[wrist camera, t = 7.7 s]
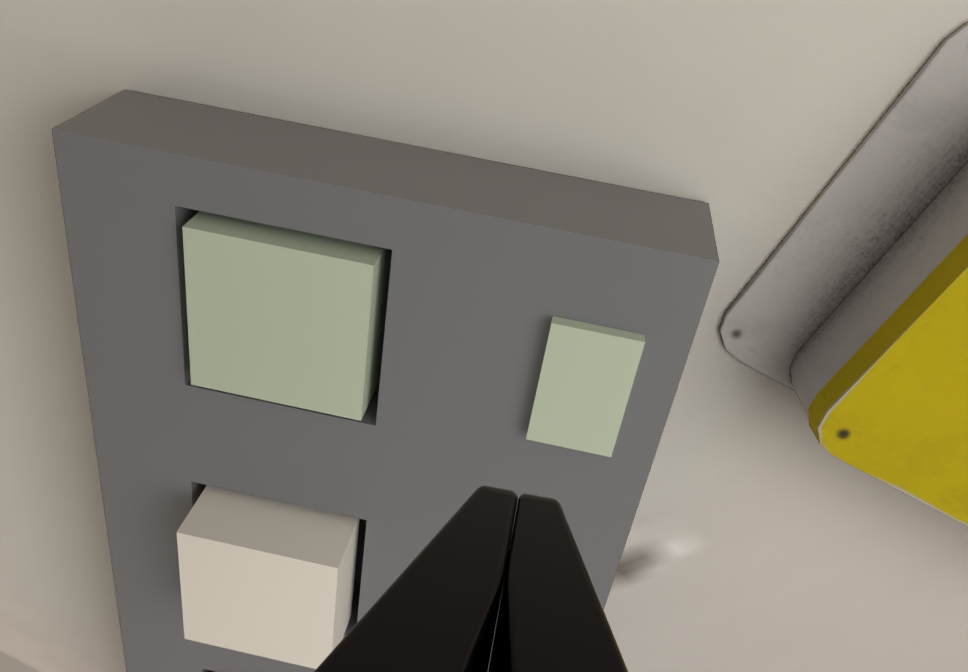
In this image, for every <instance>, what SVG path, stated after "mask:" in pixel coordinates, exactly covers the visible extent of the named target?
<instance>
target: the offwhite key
mask: <svg viewBox="0 0 968 672" xmlns="http://www.w3.org/2000/svg"><path fill="white" fill-rule="evenodd" d="M359 521H360V519H359V518H354V517H350V516H345V515H341V514H336V513H332V512H327V511H323V510H318V509H313V508H309V507H304V506H300V505H295V504H291V503H286V502H282V501H277V500H273V499H268V498H264V497H259V496H254V495H250V494H245V493H241V492H236V491H232V490H227V489H223V488H218V487H214V486H209V485H207V486H206V487H205V489H204V490H203V492H202V493H201V495H200V497H199V498H198V500H197V501H196V503H195V504H194V506H193V507H192V509H191V511H190V512H189V514H188V515H187V517H186V518H185V520H184V521H183V523H182V525H181V526H180V528H179V529H178V531H177V532H176V533H177V546H178V559H179V572H180V585H181V598H182V612H183V625H184V638H185V639H188V640H192V641H196V642H201V643H205V644H209V645H214V646H218V647H222V648H227V649H231V650H235V651H240V652H244V653H248V654H253V655H257V656H261V657H266V658H270V659H274V660H279V661H283V662H287V663H292V664H296V665H300V666H305V667H309V668H313V669H317V668H318V666H319V665H320V664H321V663H322V662H323V661H324V660H325V659H326V657H327V656H328V655H329V654H330V653H331V652H332V651H333V650H334V648H335V647H336V646H337V645H338V644H339V643H340V642H341V641H342V639H343V636H344V633H345V631H346V628H347V625H348V622H349V620H350V617H351V611H352V600H353V589H354V577H355V566H356V555H357V543H358V532H359Z"/></svg>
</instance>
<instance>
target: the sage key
mask: <svg viewBox="0 0 968 672" xmlns="http://www.w3.org/2000/svg"><path fill="white" fill-rule="evenodd" d="M182 230H183V248H184V266H185V284H186V302H187V320H188V338H189V356H190V374H191V385H196V386H200V387H205V388H210V389H214V390H219V391H224V392H228V393H233V394H238V395H242V396H247V397H252V398H256V399H261V400H266V401H270V402H275V403H280V404H284V405H289V406H294V407H299V408H303V409H308V410H313V411H317V412H322V413H327V414H331V415H336V416H341V417H345V418H350V419H355V420H359V421H361V420H362V418H363V415H364V413H365V411H366V409H367V407H368V405H369V402H370V400H371V398H372V396H373V394H374V391H375V389H376V387H377V385H378V383H379V381H380V374H381V364H382V353H383V343H384V332H385V321H386V311H387V300H388V290H389V279H390V269H391V258H392V250H391V249H386V248H381V247H376V246H371V245H366V244H361V243H356V242H351V241H346V240H341V239H336V238H331V237H327V236H322V235H317V234H312V233H307V232H302V231H297V230H292V229H287V228H282V227H277V226H272V225H267V224H262V223H257V222H252V221H247V220H243V219H238V218H233V217H228V216H223V215H218V214H213V213H208V212H203V211H199V212H198V213H197V214H196V215H195V216H194V217H193V218H191V219H190V220H189V221H188V222H187V223H186V224H185V225H184V226H183V227H182Z"/></svg>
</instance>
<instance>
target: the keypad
mask: <svg viewBox="0 0 968 672" xmlns="http://www.w3.org/2000/svg"><path fill="white" fill-rule="evenodd" d="M52 135H53V142H54V149H55V156H56V164H57V171H58V178H59V185H60V193H61V200H62V207H63V214H64V222H65V229H66V236H67V243H68V251H69V258H70V265H71V272H72V280H73V287H74V294H75V301H76V308H77V316H78V323H79V330H80V337H81V345H82V352H83V359H84V366H85V374H86V381H87V388H88V395H89V403H90V410H91V417H92V424H93V432H94V439H95V446H96V453H97V460H98V468H99V475H100V482H101V489H102V497H103V504H104V511H105V518H106V526H107V533H108V540H109V547H110V555H111V562H112V569H113V576H114V584H115V591H116V598H117V605H118V613H119V620H120V627H121V634H122V641H123V649H124V656H125V663H126V670H127V672H214V671H215V672H314V671H315V670H316V669H313V668H309V667H305V666H300V665H296V664H292V663H287V662H283V661H279V660H274V659H270V658H266V657H261V656H257V655H253V654H248V653H244V652H240V651H235V650H231V649H227V648H222V647H218V646H214V645H209V644H205V643H201V642H196V641H192V640H188V639H185V638H184V625H183V612H182V598H181V585H180V572H179V559H178V546H177V533H176V532H177V531H178V529H179V528H180V526H181V525H182V523H183V521H184V520H185V518H186V517H187V515H188V514H189V512H190V511H191V509H192V507H193V506H194V504H195V503H196V501H197V500H198V498H199V497H200V495H201V493H202V492H203V490H204V489H205V487H206V486H207V485H209V486H214V487H218V488H223V489H227V490H232V491H236V492H241V493H245V494H250V495H254V496H259V497H264V498H268V499H273V500H277V501H282V502H286V503H291V504H295V505H300V506H304V507H309V508H313V509H318V510H323V511H327V512H332V513H336V514H341V515H345V516H350V517H354V518H359V519H360V521H359V532H358V543H357V555H356V566H355V577H354V589H353V600H352V611H351V617H350V620H349V622H348V625H347V628H346V631H345V633H344V636H343V638H344V637H345V636H346V635H347V634H348V633H349V632H350V631H351V629H352V628H353V627H354V626H355V625H356V624H357V623H358V622H359V620H360V619H361V618H362V617H363V616H364V615H365V614H366V613H367V611H368V610H369V609H370V608H371V607H372V606H373V605H374V604H375V603H376V601H377V600H378V599H379V598H380V597H381V596H382V595H383V594H384V592H385V591H386V590H387V589H388V588H389V587H390V586H391V585H392V583H393V582H394V581H395V580H396V579H397V578H398V577H399V576H400V575H401V573H402V572H403V571H404V570H405V569H406V568H407V567H408V566H409V564H410V563H411V562H412V561H413V560H414V559H415V558H416V557H417V555H418V554H419V553H420V552H421V551H422V550H423V549H424V548H425V546H426V545H427V544H428V543H429V542H430V541H431V540H432V539H433V538H434V536H435V535H436V534H437V533H438V532H439V531H440V530H441V529H442V527H443V526H444V525H445V524H446V523H447V522H448V521H449V520H450V518H451V517H452V516H453V515H454V514H455V513H456V512H457V511H458V510H459V508H460V507H461V506H462V505H463V504H464V503H465V502H466V501H467V499H468V498H469V497H470V496H471V495H472V494H473V493H474V492H475V491H476V490H477V489H478V488H479V487H481V486H490V487H495V488H501V489H506V490H511V491H514V492H515V493H516V494H517V496H518V499H519V497H520V496H521V495H522V494H524V493H527V494H533V495H538V496H543V497H548V498H553V499H556V500H557V501H558V502H559V503H560V505H561V507H562V509H563V512H564V514H565V517H566V519H567V522H568V524H569V527H570V529H571V532H572V534H573V536H574V539H575V541H576V544H577V546H578V549H579V551H580V554H581V556H582V559H583V561H584V564H585V566H586V569H587V571H588V574H589V576H590V579H591V581H592V584H593V586H594V588H595V591H596V593H597V596H598V598H599V601H600V603H601V606H602V608H603V610H604V607H605V604H606V601H607V598H608V595H609V592H610V589H611V586H612V583H613V580H614V577H615V574H616V571H617V568H618V565H619V562H620V559H621V556H622V553H623V550H624V547H625V544H626V541H627V538H628V535H629V532H630V529H631V526H632V523H633V520H634V517H635V514H636V511H637V508H638V505H639V502H640V499H641V496H642V493H643V490H644V487H645V484H646V481H647V478H648V475H649V472H650V469H651V465H652V462H653V459H654V456H655V453H656V450H657V447H658V444H659V441H660V438H661V435H662V432H663V429H664V426H665V423H666V420H667V417H668V414H669V411H670V408H671V405H672V402H673V399H674V396H675V393H676V390H677V387H678V384H679V381H680V378H681V375H682V372H683V369H684V366H685V363H686V360H687V357H688V354H689V351H690V348H691V345H692V342H693V339H694V336H695V333H696V330H697V327H698V324H699V321H700V318H701V315H702V312H703V309H704V306H705V303H706V300H707V297H708V294H709V291H710V288H711V285H712V282H713V279H714V276H715V273H716V270H717V267H718V264H719V258H718V252H717V247H716V241H715V236H714V230H713V224H712V219H711V213H710V208H709V203H704V202H699V201H694V200H689V199H684V198H678V197H673V196H668V195H663V194H658V193H653V192H648V191H643V190H637V189H632V188H627V187H622V186H617V185H612V184H607V183H602V182H596V181H591V180H586V179H581V178H576V177H571V176H566V175H561V174H555V173H550V172H545V171H540V170H535V169H530V168H525V167H520V166H514V165H509V164H504V163H499V162H494V161H489V160H484V159H479V158H473V157H468V156H463V155H458V154H453V153H448V152H443V151H438V150H432V149H427V148H422V147H417V146H412V145H407V144H402V143H397V142H391V141H386V140H381V139H376V138H371V137H366V136H361V135H356V134H350V133H345V132H340V131H335V130H330V129H325V128H320V127H315V126H309V125H304V124H299V123H294V122H289V121H284V120H279V119H274V118H268V117H263V116H258V115H253V114H248V113H243V112H238V111H233V110H227V109H222V108H217V107H212V106H207V105H202V104H197V103H192V102H186V101H181V100H176V99H171V98H166V97H161V96H156V95H151V94H145V93H140V92H135V91H130V90H123V91H122V92H120V93H118V94H116V95H114V96H112V97H110V98H109V99H107V100H105V101H103V102H101V103H99V104H97V105H95V106H94V107H92V108H90V109H88V110H86V111H84V112H82V113H80V114H79V115H77V116H75V117H73V118H71V119H69V120H67V121H66V122H64V123H62V124H60V125H58V126H56V127H54V128H52ZM199 211H203V212H208V213H213V214H218V215H223V216H228V217H233V218H238V219H243V220H247V221H252V222H257V223H262V224H267V225H272V226H277V227H282V228H287V229H292V230H297V231H302V232H307V233H312V234H317V235H322V236H327V237H331V238H336V239H341V240H346V241H351V242H356V243H361V244H366V245H371V246H376V247H381V248H386V249H391V250H392V258H391V269H390V279H389V290H388V300H387V311H386V321H385V332H384V343H383V353H382V364H381V374H380V381H379V383H378V385H377V387H376V389H375V391H374V394H373V396H372V398H371V400H370V402H369V405H368V407H367V409H366V411H365V413H364V415H363V418H362V420H361V421H359V420H355V419H350V418H345V417H341V416H336V415H331V414H327V413H322V412H317V411H313V410H308V409H303V408H299V407H294V406H289V405H284V404H280V403H275V402H270V401H266V400H261V399H256V398H252V397H247V396H242V395H238V394H233V393H228V392H224V391H219V390H214V389H210V388H205V387H200V386H196V385H191V374H190V356H189V338H188V320H187V302H186V284H185V266H184V248H183V230H182V227H183V226H184V225H185V224H186V223H187V222H188V221H189V220H190V219H191V218H193V217H194V216H195V215H196V214H197V213H198V212H199ZM517 504H518V502H517ZM516 510H517V508H516ZM515 516H516V514H515ZM514 521H515V519H514ZM513 527H514V525H513ZM512 532H513V531H512ZM511 538H512V537H511ZM501 595H502V594H501ZM499 606H500V605H499ZM498 612H499V611H498ZM497 618H498V616H497ZM496 623H497V622H496ZM495 629H496V628H495ZM494 635H495V633H494ZM493 641H494V639H493ZM492 646H493V644H492ZM491 652H492V650H491ZM490 658H491V655H490ZM489 664H490V661H489ZM488 669H489V667H488Z"/></svg>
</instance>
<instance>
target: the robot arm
mask: <svg viewBox="0 0 968 672" xmlns="http://www.w3.org/2000/svg"><path fill="white" fill-rule="evenodd" d="M517 502H518V504H517ZM516 508H517V510H516ZM515 514H516V516H515ZM514 519H515V521H514ZM513 525H514V527H513ZM512 531H513V532H512ZM511 537H512V538H511ZM501 594H502V595H501ZM499 605H500V606H499ZM498 611H499V612H498ZM497 616H498V618H497ZM496 622H497V623H496ZM495 628H496V629H495ZM494 633H495V635H494ZM493 639H494V641H493ZM492 644H493V646H492ZM491 650H492V652H491ZM490 655H491V658H490ZM489 661H490V664H489ZM488 667H489V669H488ZM314 672H628V670H627V668H626V665H625V663H624V660H623V658H622V655H621V653H620V650H619V648H618V645H617V643H616V640H615V638H614V636H613V633H612V631H611V628H610V626H609V623H608V621H607V618H606V616H605V613H604V611H603V608H602V606H601V603H600V601H599V598H598V596H597V593H596V591H595V588H594V586H593V584H592V581H591V579H590V576H589V574H588V571H587V569H586V566H585V564H584V561H583V559H582V556H581V554H580V551H579V549H578V546H577V544H576V541H575V539H574V536H573V534H572V532H571V529H570V527H569V524H568V522H567V519H566V517H565V514H564V512H563V509H562V507H561V505H560V503H559V502H558V501H557V500H556V499H553V498H548V497H543V496H538V495H533V494H527V493H524V494H522V495H521V496H520V497H519V499H518V496H517V494H516V493H515V492H514V491H511V490H506V489H501V488H495V487H490V486H481V487H479V488H478V489H477V490H476V491H475V492H474V493H473V494H472V495H471V496H470V497H469V498H468V499H467V501H466V502H465V503H464V504H463V505H462V506H461V507H460V508H459V510H458V511H457V512H456V513H455V514H454V515H453V516H452V517H451V518H450V520H449V521H448V522H447V523H446V524H445V525H444V526H443V527H442V529H441V530H440V531H439V532H438V533H437V534H436V535H435V536H434V538H433V539H432V540H431V541H430V542H429V543H428V544H427V545H426V546H425V548H424V549H423V550H422V551H421V552H420V553H419V554H418V555H417V557H416V558H415V559H414V560H413V561H412V562H411V563H410V564H409V566H408V567H407V568H406V569H405V570H404V571H403V572H402V573H401V575H400V576H399V577H398V578H397V579H396V580H395V581H394V582H393V583H392V585H391V586H390V587H389V588H388V589H387V590H386V591H385V592H384V594H383V595H382V596H381V597H380V598H379V599H378V600H377V601H376V603H375V604H374V605H373V606H372V607H371V608H370V609H369V610H368V611H367V613H366V614H365V615H364V616H363V617H362V618H361V619H360V620H359V622H358V623H357V624H356V625H355V626H354V627H353V628H352V629H351V631H350V632H349V633H348V634H347V635H346V636H345V637H344V638H343V639H342V641H341V642H340V643H339V644H338V645H337V646H336V647H335V648H334V650H333V651H332V652H331V653H330V654H329V655H328V656H327V657H326V659H325V660H324V661H323V662H322V663H321V664H320V665H319V666H318V668H317V669H316V670H315V671H314Z"/></svg>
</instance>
